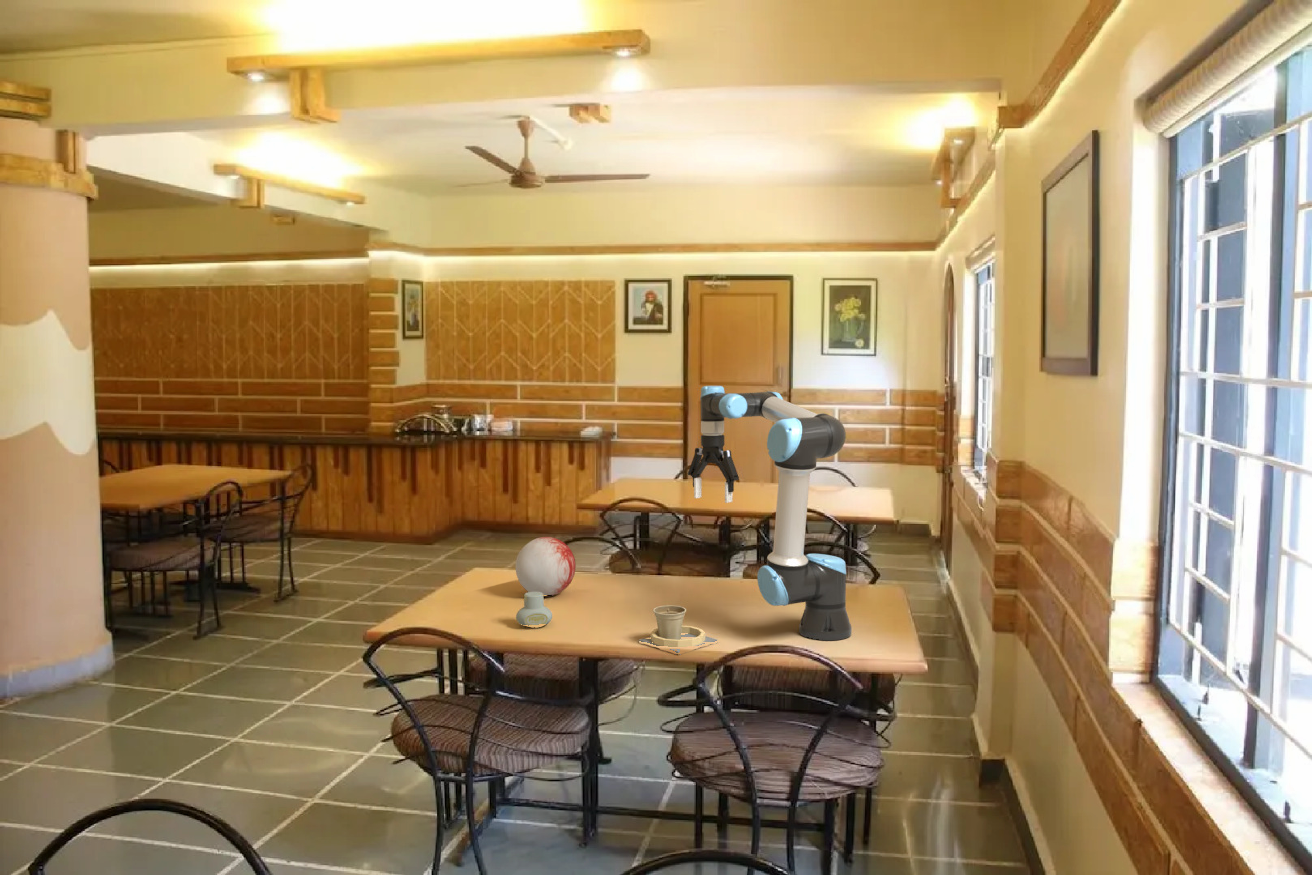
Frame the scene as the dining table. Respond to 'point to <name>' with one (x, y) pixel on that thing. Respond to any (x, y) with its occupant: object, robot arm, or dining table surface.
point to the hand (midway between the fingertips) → (713, 500)
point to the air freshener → (534, 610)
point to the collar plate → (692, 632)
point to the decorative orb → (545, 566)
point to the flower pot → (669, 621)
